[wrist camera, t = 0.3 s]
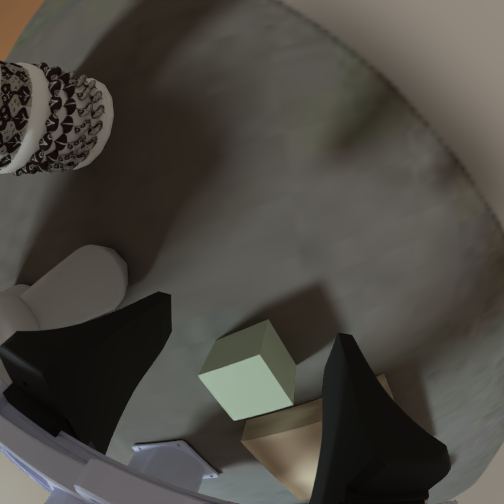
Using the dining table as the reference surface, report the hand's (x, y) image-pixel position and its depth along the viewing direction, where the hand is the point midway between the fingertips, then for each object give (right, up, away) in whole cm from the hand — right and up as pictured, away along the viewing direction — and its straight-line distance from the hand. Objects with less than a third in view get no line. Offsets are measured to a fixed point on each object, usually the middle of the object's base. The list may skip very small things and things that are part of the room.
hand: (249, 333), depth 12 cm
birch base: (+9, -16, +14) cm, 23 cm away
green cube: (0, -5, +12) cm, 13 cm away
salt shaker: (-12, +2, +12) cm, 17 cm away
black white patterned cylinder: (-15, +15, +9) cm, 23 cm away
